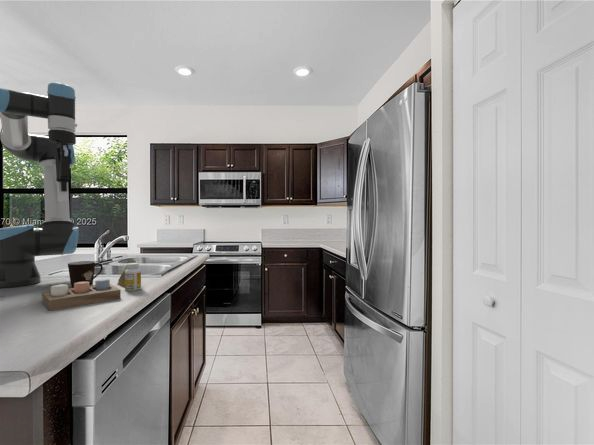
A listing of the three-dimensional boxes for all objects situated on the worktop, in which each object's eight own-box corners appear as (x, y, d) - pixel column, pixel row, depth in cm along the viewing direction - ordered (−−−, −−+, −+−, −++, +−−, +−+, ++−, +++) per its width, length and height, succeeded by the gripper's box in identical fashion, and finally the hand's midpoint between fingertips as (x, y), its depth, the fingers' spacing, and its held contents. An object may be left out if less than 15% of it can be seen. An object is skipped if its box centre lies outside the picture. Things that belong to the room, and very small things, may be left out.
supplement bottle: (138, 287, 125) (137, 262, 124) (143, 289, 121) (142, 263, 120) (122, 289, 121) (122, 263, 121) (127, 291, 117) (127, 265, 117)
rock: (147, 280, 125) (147, 272, 134) (132, 264, 122) (132, 257, 131) (122, 299, 123) (123, 290, 131) (106, 283, 119) (108, 274, 128)
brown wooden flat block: (42, 301, 104) (42, 291, 104) (108, 291, 118) (108, 283, 118) (49, 310, 94) (49, 300, 94) (120, 298, 108) (120, 289, 108)
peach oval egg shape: (72, 298, 106) (72, 282, 106) (87, 295, 109) (87, 281, 109) (75, 300, 103) (75, 284, 103) (91, 298, 106) (90, 283, 106)
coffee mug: (69, 293, 114) (69, 265, 114) (66, 289, 121) (66, 262, 121) (107, 288, 122) (106, 262, 122) (102, 284, 129) (102, 259, 128)
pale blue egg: (94, 294, 110) (93, 280, 110) (107, 292, 113) (107, 278, 113) (97, 297, 107) (97, 282, 107) (111, 294, 110) (111, 280, 110)
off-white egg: (50, 301, 102) (49, 285, 102) (66, 299, 105) (66, 283, 105) (52, 304, 99) (52, 287, 99) (69, 301, 102) (68, 285, 102)
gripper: (79, 130, 107) (80, 201, 108) (71, 136, 117) (72, 202, 117) (51, 125, 102) (52, 200, 103) (45, 132, 111) (46, 201, 112)
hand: (63, 201), depth 110 cm, fingers closed
